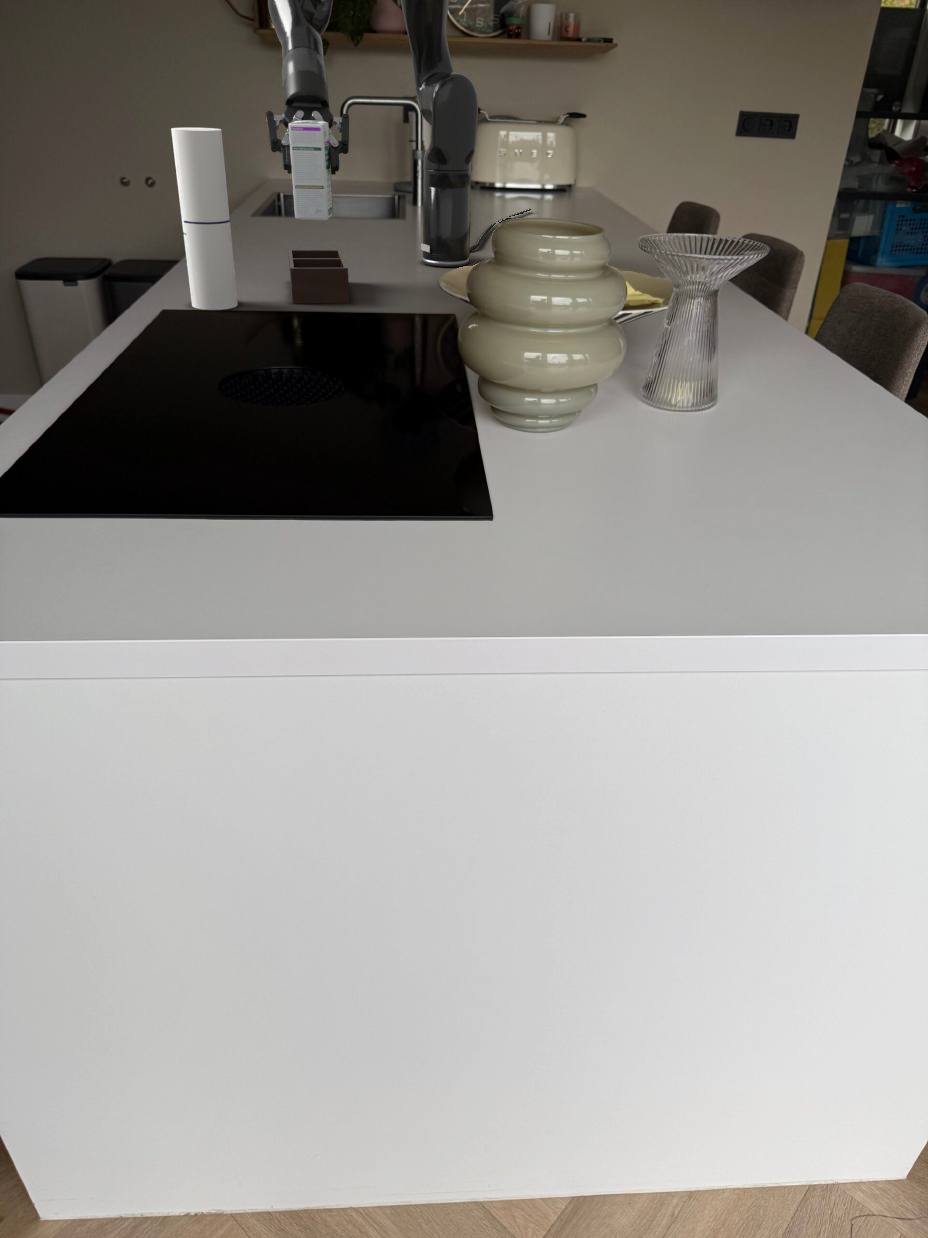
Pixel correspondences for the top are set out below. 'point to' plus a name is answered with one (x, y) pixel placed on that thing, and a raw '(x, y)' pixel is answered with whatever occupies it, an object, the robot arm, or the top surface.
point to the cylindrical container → (205, 217)
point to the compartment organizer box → (318, 276)
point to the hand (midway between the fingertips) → (311, 170)
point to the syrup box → (311, 169)
